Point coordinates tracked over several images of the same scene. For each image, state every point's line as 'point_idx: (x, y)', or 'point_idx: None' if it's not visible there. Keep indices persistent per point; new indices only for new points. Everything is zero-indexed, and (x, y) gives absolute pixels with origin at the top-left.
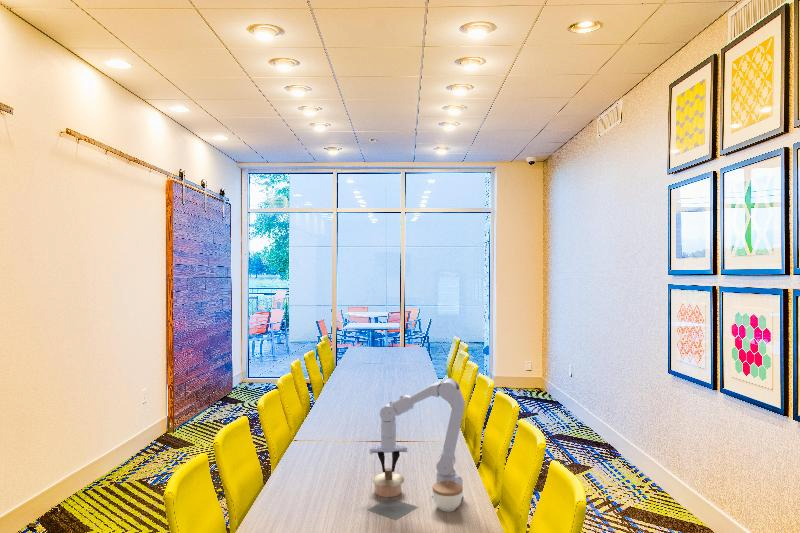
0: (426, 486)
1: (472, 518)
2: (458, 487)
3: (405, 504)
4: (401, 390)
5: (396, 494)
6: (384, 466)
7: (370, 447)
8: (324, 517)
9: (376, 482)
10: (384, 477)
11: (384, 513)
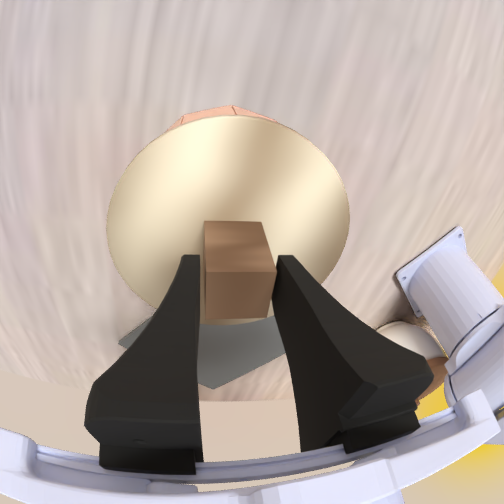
0: (438, 160)
1: None
2: (428, 392)
3: (271, 324)
4: None
5: None
6: (197, 347)
7: (2, 491)
8: (12, 349)
9: (136, 292)
10: (202, 216)
11: None
